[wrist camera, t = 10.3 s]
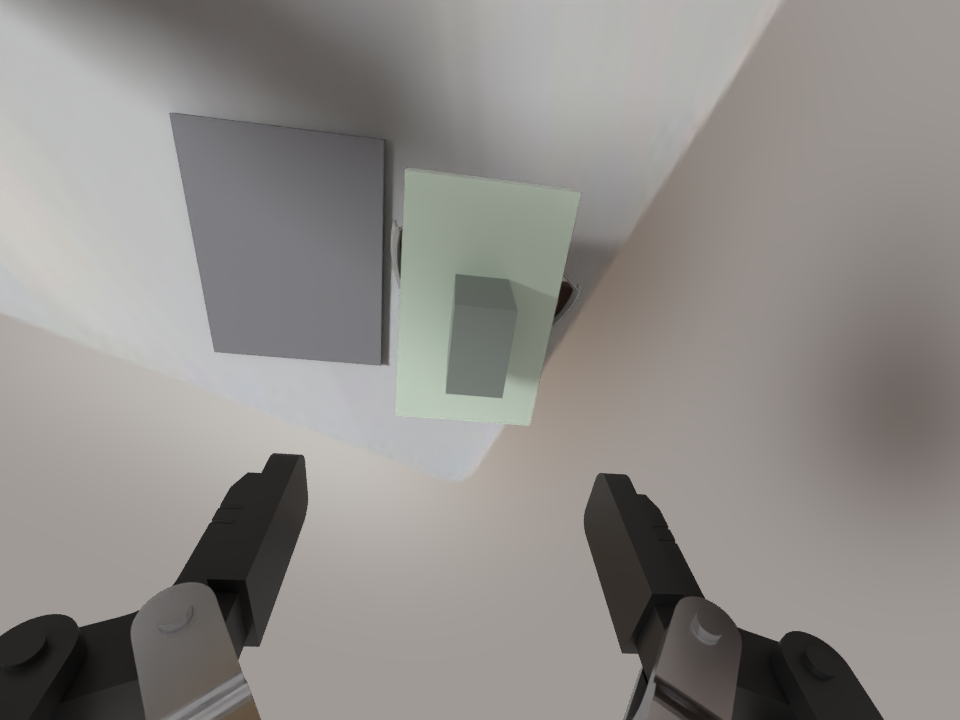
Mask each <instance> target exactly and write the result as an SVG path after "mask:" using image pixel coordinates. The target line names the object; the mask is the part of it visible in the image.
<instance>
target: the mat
mask: <svg viewBox="0 0 960 720" xmlns="http://www.w3.org/2000/svg"><path fill="white" fill-rule="evenodd" d="M169 114H170V119H171V125H172V130H173V135H174V141H175V146H176V151H177V156H178V162H179V167H180V172H181V178H182V183H183V188H184V193H185V199H186V204H187V209H188V215H189V220H190V225H191V230H192V236H193V241H194V246H195V252H196V257H197V262H198V267H199V273H200V278H201V283H202V289H203V294H204V299H205V304H206V310H207V315H208V320H209V326H210V331H211V336H212V341H213V347H214V352H221V353H234V354H246V355H258V356H270V357H282V358H295V359H307V360H319V361H331V362H344V363H356V364H368V365H380V366H381V362H382V301H383V233H384V166H385V140H383V139H375V138H367V137H359V136H351V135H343V134H336V133H328V132H320V131H312V130H304V129H296V128H288V127H281V126H273V125H265V124H257V123H249V122H241V121H234V120H226V119H218V118H210V117H202V116H194V115H187V114H179V113H169Z"/></svg>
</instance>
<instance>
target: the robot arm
mask: <svg viewBox="0 0 960 720" xmlns="http://www.w3.org/2000/svg"><path fill="white" fill-rule="evenodd" d="M307 505H308V491H307V479H306V468H305V459H304V456H303V455H294V454H277V453H274V454H272V455H271V456H270V458H269V460H268V461H267V463H266V465H265V467H264V469H263V471H262V473H247V474H246V475H244V476H243V477H242V478H241V479H240V480H239V481H237V482H236V483H235V484H234V485H233V486H231V488H230V489H229V491H228V493H227V494H226V496H225V498H224V500H223V501H222V503H221V506H220V508H218V510H217V512H216V513H215V515H214V517H213V519H212V522H211V523H210V524H209V525H208V527H207V529H206V531H205V533H204V534H203V536H202V537H201V539H200V541H199V543H198V545H197V546H196V548H195V550H194V551H193V553H192V555H191V557H190V558H189V560H188V562H187V563H186V565H185V567H184V569H183V570H182V572H181V574H180V575H179V577H178V579H177V581H176V582H175V583H174V584H173V586H171V587H169V588H167V589H165V590H163V591H161V592H159V593H158V594H156V595H155V596H154V597H152V598H151V599H150V600H149V601H147V603H146V604H145V605H144V606H143V607H142V608H141V609H140V610H139V611H137V612H134V613H131V614H128V615H125V616H121V617H118V618H114V619H110V620H106V621H102V622H98V623H94V624H90V625H87V626H83V627H78V626H77V624H76V622H75V621H74V620H73V619H72V618H70V617H68V616H66V615H61V614H51V615H44V616H40V617H36V618H34V619H30V620H28V621H26V622H23V623H21V624H19V625H17V626H16V627H14V628H12V629H10V630H9V631H7V632H6V633H4V634H3V635H1V636H0V720H261V718H260V715H259V713H258V710H257V707H256V704H255V702H254V699H253V696H252V693H251V690H250V688H249V685H248V683H247V681H246V680H245V678H244V675H243V673H242V670H241V667H240V664H239V661H238V660H239V657H240V654H241V652H242V649H243V647H244V646H256V647H258V646H260V643H261V641H262V638H263V635H264V632H265V629H266V626H267V624H268V621H269V618H270V615H271V612H272V610H273V607H274V604H275V601H276V598H277V596H278V593H279V590H280V587H281V584H282V581H283V579H284V576H285V573H286V570H287V568H288V565H289V562H290V559H291V556H292V554H293V551H294V548H295V545H296V542H297V540H298V537H299V534H300V531H301V528H302V525H303V523H304V520H305V516H306V511H307ZM584 529H585V534H586V537H587V540H588V543H589V547H590V550H591V554H592V557H593V560H594V563H595V566H596V570H597V573H598V576H599V580H600V582H601V586H602V589H603V592H604V596H605V599H606V602H607V605H608V609H609V612H610V615H611V619H612V622H613V625H614V628H615V632H616V635H617V638H618V642H619V645H620V648H621V651H622V653H631V654H634V653H635V654H639V657H640V660H641V663H642V667H641V669H640V671H639V674H638V677H637V680H636V683H635V686H634V689H633V692H632V695H631V698H630V700H629V704H628V706H627V710H626V712H625V716H624V718H623V720H884V719H883V718H882V716H881V714H880V713H879V711H878V710H877V708H876V707H875V706H874V704H873V702H872V701H871V699H870V698H869V696H868V694H867V693H866V691H865V690H864V688H863V687H862V685H861V684H860V682H859V681H858V679H857V678H856V676H855V675H854V673H853V671H852V670H851V668H850V667H849V666H848V664H847V663H846V661H845V660H844V659H843V658H842V657H841V656H840V655H839V654H838V653H837V652H836V651H835V650H834V649H833V648H832V647H830V646H829V645H828V644H827V643H825V642H824V641H822V640H820V639H819V638H817V637H815V636H813V635H811V634H808V633H805V632H800V631H792V632H789V633H787V634H785V636H784V637H783V638H782V639H781V640H780V642H777V641H774V640H772V639H769V638H765V637H763V636H760V635H757V634H754V633H751V632H748V631H745V630H743V629H740V628H738V627H737V626H736V624H735V623H734V622H733V620H732V619H731V618H730V616H729V615H728V614H727V613H726V612H725V611H724V610H722V609H721V608H720V607H719V606H717V605H716V604H714V603H713V602H710V601H709V600H706V599H705V597H704V596H703V594H702V592H701V590H700V588H699V586H698V584H697V582H696V580H695V578H694V576H693V574H692V572H691V571H690V568H689V566H688V564H687V562H686V561H685V559H684V556H683V554H682V552H681V551H680V549H679V547H678V545H677V544H676V543H675V539H674V537H673V535H672V533H671V531H670V530H668V525H667V523H666V521H665V519H664V517H663V515H662V513H661V511H660V509H659V508H658V507H657V506H656V505H655V504H654V503H653V502H652V501H651V500H650V499H649V498H648V497H647V496H646V495H641V494H637V493H636V491H635V489H634V487H633V485H632V482H631V481H630V478H629V477H628V476H627V475H623V474H606V473H599V474H598V475H597V477H596V480H595V483H594V486H593V489H592V492H591V495H590V498H589V500H588V503H587V507H586V509H585V514H584Z"/></svg>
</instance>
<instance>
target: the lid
mask: <svg viewBox="0 0 960 720" xmlns="http://www.w3.org/2000/svg"><path fill="white" fill-rule="evenodd" d="M580 196H581V192H579V191H578V190H577V189H572V188H564V187H556V186H548V185H540V184H532V183H525V182H517V181H509V180H501V179H493V178H485V177H478V176H470V175H462V174H454V173H446V172H438V171H431V170H423V169H415V168H406V170H405V179H404V204H403V229H402V254H401V279H400V304H399V329H398V354H397V379H396V404H395V415H396V416H409V417H422V418H435V419H448V420H462V421H475V422H488V423H501V424H515V425H528V426H530V422H531V418H532V413H533V409H534V404H535V400H536V395H537V390H538V386H539V382H540V377H541V373H542V368H543V364H544V359H545V355H546V350H547V346H548V341H549V337H550V332H551V327H552V323H553V318H554V314H555V309H556V305H557V300H558V296H559V291H560V287H561V282H562V278H563V273H564V269H565V264H566V260H567V255H568V251H569V246H570V242H571V237H572V232H573V228H574V223H575V219H576V214H577V210H578V205H579V201H580Z"/></svg>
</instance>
